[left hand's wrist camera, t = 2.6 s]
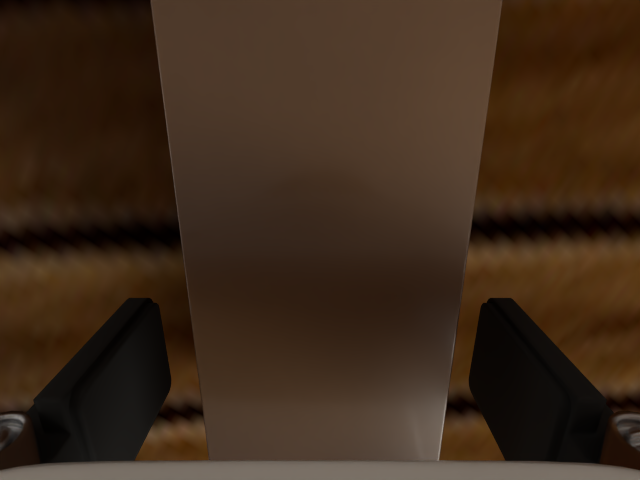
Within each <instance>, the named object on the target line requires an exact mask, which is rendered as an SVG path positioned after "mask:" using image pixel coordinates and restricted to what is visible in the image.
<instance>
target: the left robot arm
mask: <svg viewBox="0 0 640 480" xmlns="http://www.w3.org/2000/svg"><path fill="white" fill-rule="evenodd" d="M170 387H171V375H170V369H169V363H168V357H167V351H166V345H165V339H164V333H163V327H162V321H161V315H160V309H159V305H158V304H157V303H153V301H152V299H150V298H129V299H127V300H126V301H125V302H124V303H123V304H122V306H121V307H120V308H119V309H118V310H117V311H116V312H115V313H114V314H113V315H112V316H111V317H110V318H109V319H108V320H107V322H106V323H105V324H104V325H103V326H102V327H101V328H100V329H99V330H98V331H97V332H96V333H95V334H94V335H93V337H92V338H91V339H90V340H89V341H88V342H87V343H86V344H85V345H84V346H83V347H82V348H81V349H80V350H79V352H78V353H77V354H76V355H75V356H74V357H73V358H72V359H71V360H70V361H69V362H68V363H67V364H66V365H65V367H64V368H63V369H62V370H61V371H60V372H59V373H58V374H57V375H56V376H55V377H54V378H53V379H52V380H51V381H50V383H49V384H48V385H47V386H46V387H45V388H44V389H43V390H42V391H41V392H40V393H39V394H38V395H37V396H36V398H35V399H34V403H35V404H34V405H33V406H32V407H31V408H30V409H29V410H28V411H27V413H24V412H22V411H8V412H1V413H0V480H640V413H639V412H632V411H618V412H616V413H613V411H612V410H611V409H610V408H609V407H608V406H607V405H606V404H605V403H606V399H605V398H604V396H603V395H602V394H601V393H600V392H599V391H598V390H597V389H596V388H595V387H594V386H593V385H592V384H591V383H590V381H589V380H588V379H587V378H586V377H585V376H584V375H583V374H582V373H581V372H580V371H579V370H578V369H577V368H576V367H575V365H574V364H573V363H572V362H571V361H570V360H569V359H568V358H567V357H566V356H565V355H564V354H563V353H562V352H561V350H560V349H559V348H558V347H557V346H556V345H555V344H554V343H553V342H552V341H551V340H550V339H549V338H548V337H547V335H546V334H545V333H544V332H543V331H542V330H541V329H540V328H539V327H538V326H537V325H536V324H535V323H534V322H533V321H532V319H531V318H530V317H529V316H528V315H527V314H526V313H525V312H524V311H523V310H522V309H521V308H520V307H519V306H518V304H517V303H516V302H515V301H514V300H513V299H511V298H490V299H488V301H487V303H483V304H482V305H481V309H480V315H479V321H478V327H477V333H476V339H475V345H474V351H473V357H472V363H471V369H470V375H469V387H470V390H471V393H472V395H473V397H474V399H475V401H476V403H477V405H478V407H479V409H480V411H481V413H482V415H483V417H484V419H485V420H486V422H487V424H488V426H489V428H490V430H491V432H492V434H493V436H494V438H495V440H496V442H497V444H498V446H499V448H500V450H501V452H502V454H503V456H504V458H505V460H506V461H437V460H203V461H134V460H135V458H136V456H137V454H138V452H139V450H140V448H141V446H142V444H143V442H144V440H145V438H146V436H147V434H148V432H149V430H150V428H151V426H152V424H153V422H154V420H155V419H156V417H157V415H158V413H159V411H160V409H161V407H162V405H163V403H164V401H165V399H166V397H167V395H168V393H169V390H170Z"/></svg>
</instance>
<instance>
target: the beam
mask: <svg viewBox="0 0 640 480" xmlns="http://www.w3.org/2000/svg"><path fill="white" fill-rule="evenodd" d="M150 2H151V10H152V18H153V25H154V33H155V41H156V49H157V57H158V64H159V72H160V80H161V88H162V96H163V103H164V111H165V119H166V127H167V135H168V142H169V150H170V158H171V166H172V174H173V181H174V189H175V197H176V205H177V213H178V220H179V228H180V236H181V244H182V252H183V259H184V267H185V275H186V283H187V291H188V298H189V306H190V314H191V322H192V330H193V338H194V345H195V353H196V361H197V369H198V377H199V384H200V392H201V400H202V408H203V416H204V423H205V431H206V439H207V447H208V455H209V460H437V461H439V457H440V450H441V442H442V435H443V428H444V421H445V413H446V406H447V399H448V392H449V384H450V377H451V370H452V363H453V355H454V348H455V341H456V334H457V326H458V319H459V312H460V305H461V297H462V290H463V283H464V276H465V268H466V261H467V254H468V246H469V239H470V232H471V225H472V217H473V210H474V203H475V196H476V188H477V181H478V174H479V167H480V159H481V152H482V145H483V138H484V130H485V123H486V116H487V109H488V101H489V94H490V87H491V80H492V72H493V65H494V58H495V51H496V43H497V36H498V29H499V22H500V14H501V7H502V0H150Z"/></svg>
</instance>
